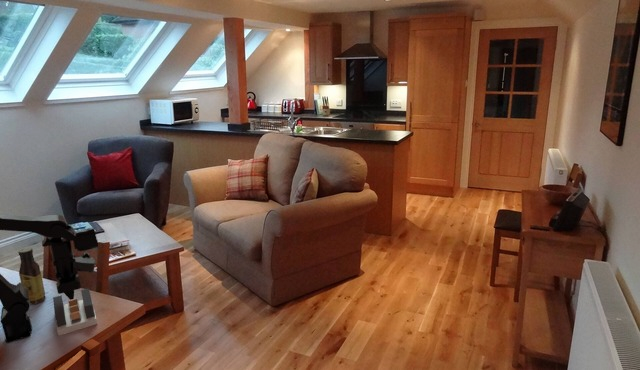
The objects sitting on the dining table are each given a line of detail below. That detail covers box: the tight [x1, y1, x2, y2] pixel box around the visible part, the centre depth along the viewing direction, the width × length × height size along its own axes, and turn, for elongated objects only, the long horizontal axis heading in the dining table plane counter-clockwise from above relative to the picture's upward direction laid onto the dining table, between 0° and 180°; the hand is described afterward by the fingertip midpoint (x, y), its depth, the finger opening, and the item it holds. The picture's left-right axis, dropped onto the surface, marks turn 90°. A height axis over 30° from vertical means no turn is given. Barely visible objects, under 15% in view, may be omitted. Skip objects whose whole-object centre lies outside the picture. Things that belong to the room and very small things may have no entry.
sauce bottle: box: [18, 246, 46, 305], centre depth 155 cm, size 7×6×20 cm
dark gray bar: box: [80, 287, 96, 319], centre depth 148 cm, size 2×12×4 cm, turn 32°
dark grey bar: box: [52, 295, 66, 328], centre depth 144 cm, size 2×12×4 cm, turn 32°
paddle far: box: [67, 297, 79, 307], centre depth 150 cm, size 3×1×2 cm, turn 122°
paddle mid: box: [69, 305, 79, 313], centre depth 146 cm, size 3×1×2 cm, turn 122°
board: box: [56, 299, 98, 336], centre depth 147 cm, size 15×11×2 cm
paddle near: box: [70, 311, 81, 320], centre depth 143 cm, size 3×1×2 cm, turn 122°
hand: (71, 298), depth 145 cm, fingers closed
